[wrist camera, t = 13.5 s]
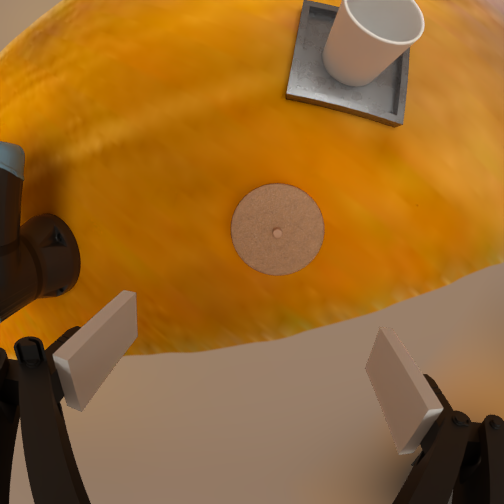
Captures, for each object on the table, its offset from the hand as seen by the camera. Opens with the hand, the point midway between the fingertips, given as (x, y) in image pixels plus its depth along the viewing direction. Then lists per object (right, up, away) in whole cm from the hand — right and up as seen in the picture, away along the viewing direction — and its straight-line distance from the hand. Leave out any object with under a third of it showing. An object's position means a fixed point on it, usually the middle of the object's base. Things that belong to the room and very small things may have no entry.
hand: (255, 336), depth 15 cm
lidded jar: (+3, +9, +27) cm, 28 cm away
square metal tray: (+14, +31, +20) cm, 39 cm away
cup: (+14, +31, +19) cm, 39 cm away
